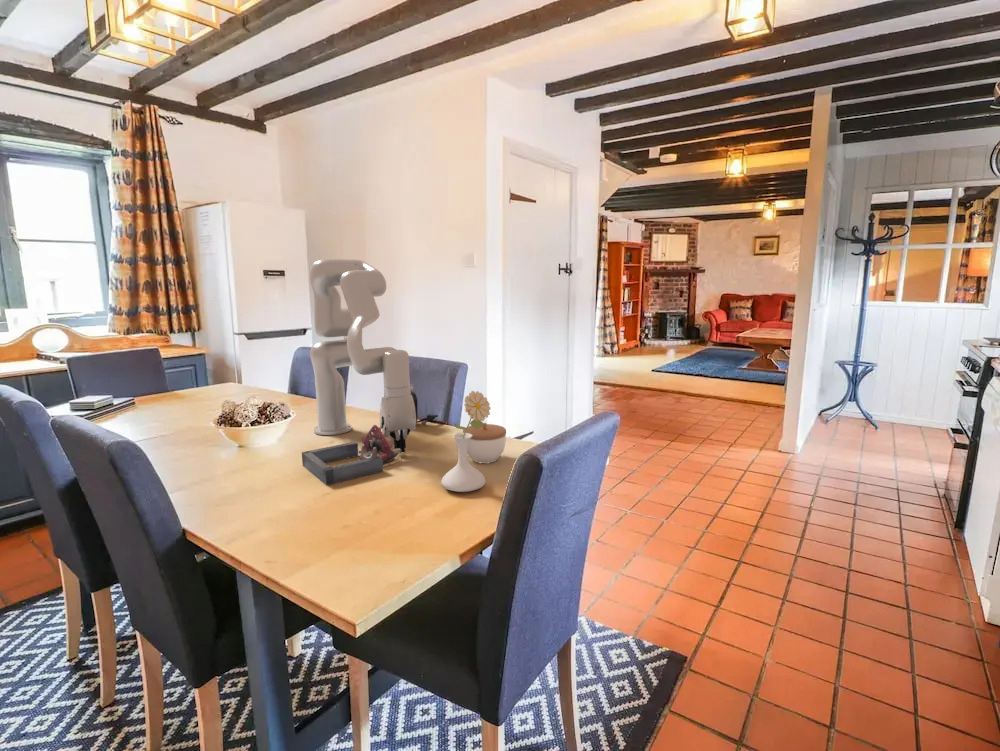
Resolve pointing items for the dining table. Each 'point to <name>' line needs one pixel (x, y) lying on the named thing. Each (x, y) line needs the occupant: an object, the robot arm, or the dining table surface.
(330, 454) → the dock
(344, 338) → the robot arm
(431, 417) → the milk frother
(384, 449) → the brake caliper
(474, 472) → the flower in vase
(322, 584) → the dining table surface
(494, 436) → the lidded bowl
